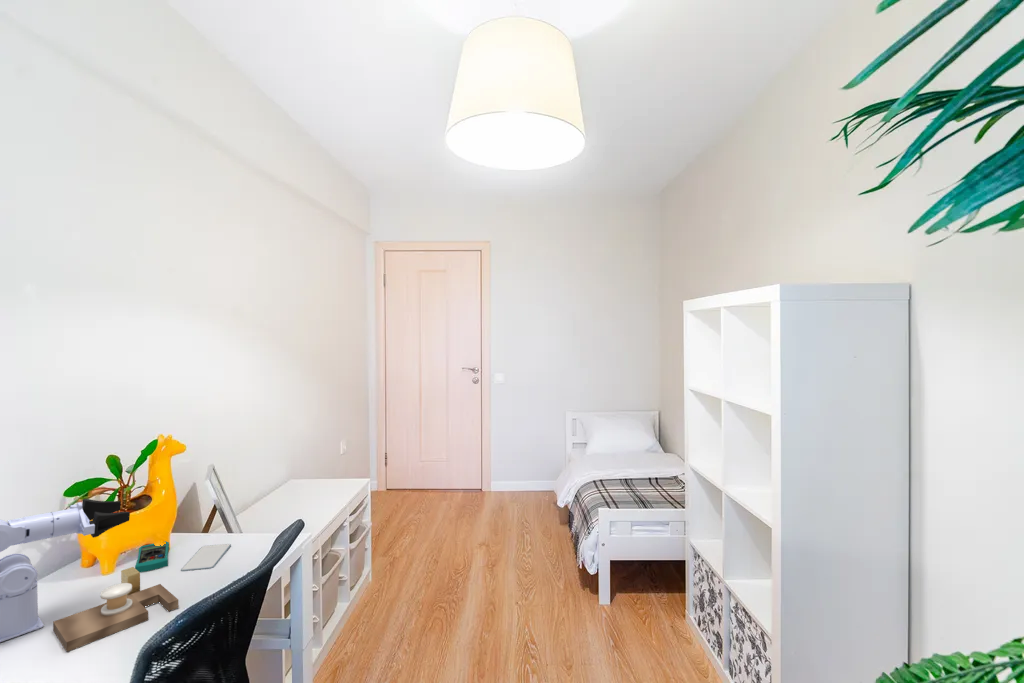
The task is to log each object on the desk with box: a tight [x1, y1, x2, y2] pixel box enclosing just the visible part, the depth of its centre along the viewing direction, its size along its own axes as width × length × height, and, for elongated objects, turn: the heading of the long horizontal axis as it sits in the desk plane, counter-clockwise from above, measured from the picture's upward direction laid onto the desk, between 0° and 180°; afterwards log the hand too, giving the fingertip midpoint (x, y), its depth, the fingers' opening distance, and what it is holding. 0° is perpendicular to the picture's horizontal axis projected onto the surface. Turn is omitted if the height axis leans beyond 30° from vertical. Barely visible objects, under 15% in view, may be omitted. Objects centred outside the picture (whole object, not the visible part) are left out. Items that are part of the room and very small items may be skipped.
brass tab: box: [120, 566, 141, 595], centre depth 121 cm, size 2×5×6 cm, turn 53°
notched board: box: [52, 583, 180, 652], centre depth 112 cm, size 20×12×2 cm, turn 143°
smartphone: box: [180, 543, 232, 572], centre depth 142 cm, size 8×1×15 cm
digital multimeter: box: [134, 541, 170, 573], centre depth 140 cm, size 7×15×3 cm, turn 34°
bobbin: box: [100, 583, 132, 616], centre depth 112 cm, size 6×6×4 cm
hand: (124, 510), depth 123 cm, fingers open, 7 cm apart
